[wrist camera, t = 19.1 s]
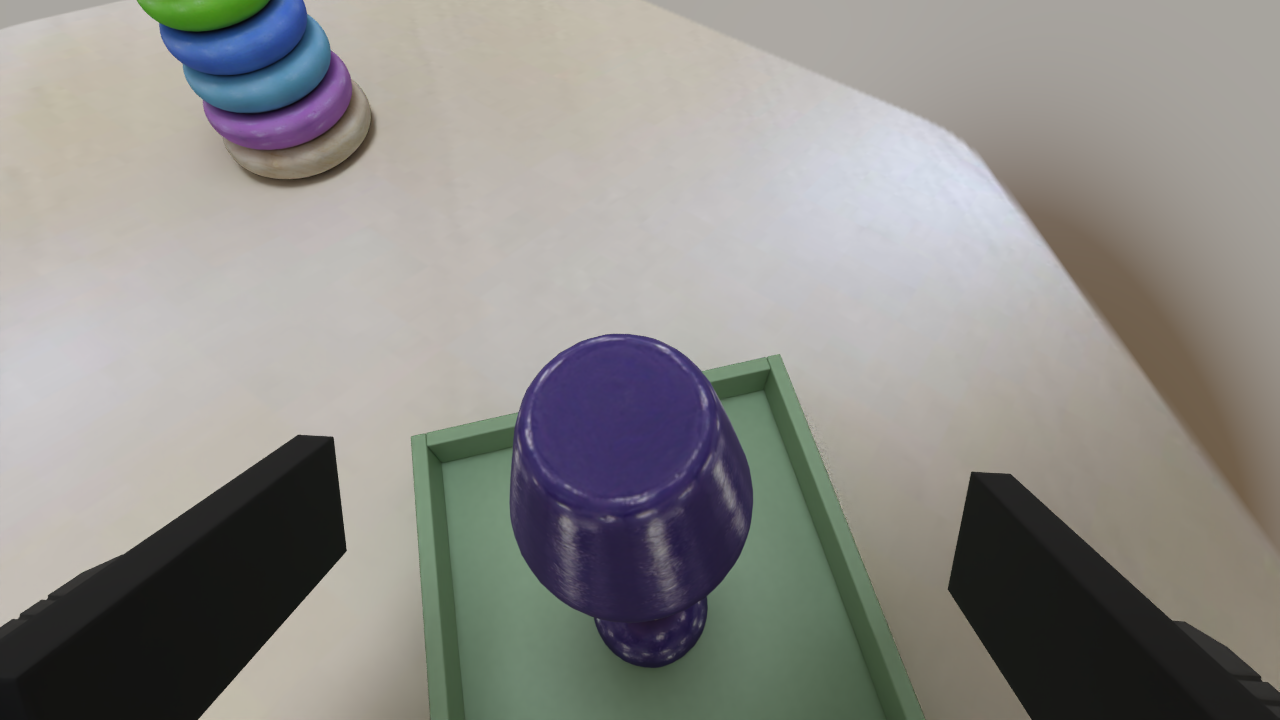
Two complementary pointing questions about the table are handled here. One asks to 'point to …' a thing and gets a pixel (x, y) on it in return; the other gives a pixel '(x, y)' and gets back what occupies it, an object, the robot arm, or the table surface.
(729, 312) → the table surface
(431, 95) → the table surface
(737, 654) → the green tray
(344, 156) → the stacking toy
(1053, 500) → the table surface
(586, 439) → the toy lamp
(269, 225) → the table surface
